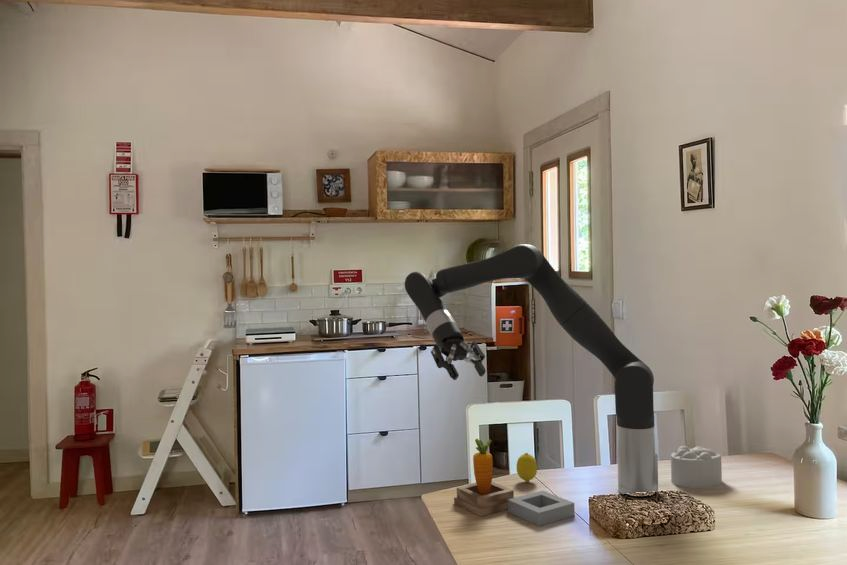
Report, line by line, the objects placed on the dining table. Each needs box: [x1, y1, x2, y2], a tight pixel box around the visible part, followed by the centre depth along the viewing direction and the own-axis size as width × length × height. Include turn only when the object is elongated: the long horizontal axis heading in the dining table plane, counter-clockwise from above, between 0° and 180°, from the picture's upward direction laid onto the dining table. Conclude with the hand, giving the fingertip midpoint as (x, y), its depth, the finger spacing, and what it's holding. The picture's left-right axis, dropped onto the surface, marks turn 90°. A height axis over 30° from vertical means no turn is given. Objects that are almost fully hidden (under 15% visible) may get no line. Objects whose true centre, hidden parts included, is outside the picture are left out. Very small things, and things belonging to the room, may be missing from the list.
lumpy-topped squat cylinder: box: [670, 445, 723, 489], centre depth 180 cm, size 10×13×9 cm
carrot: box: [472, 438, 494, 496], centre depth 166 cm, size 5×5×15 cm
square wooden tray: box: [453, 481, 515, 517], centre depth 166 cm, size 11×11×4 cm
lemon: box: [516, 452, 538, 483], centre depth 183 cm, size 6×6×8 cm
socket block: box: [507, 490, 576, 527], centre depth 159 cm, size 11×11×3 cm
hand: (469, 376), depth 175 cm, fingers open, 8 cm apart
